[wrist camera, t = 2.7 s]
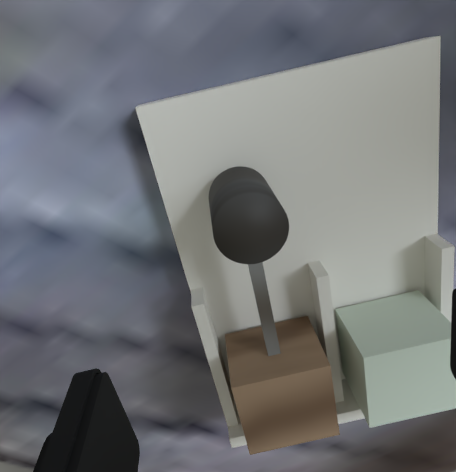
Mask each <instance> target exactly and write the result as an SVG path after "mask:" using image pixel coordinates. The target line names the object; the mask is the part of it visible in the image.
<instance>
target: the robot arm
mask: <svg viewBox="0 0 456 472" xmlns="http://www.w3.org/2000/svg"><path fill="white" fill-rule="evenodd" d="M450 368H451V372H452V374H453V376H454V378H455V379H456V289H454V290H453V292H452V315H451V350H450ZM139 454H140V451H139V443H138V440H137V438H136V435H135V433H134V431H133V429H132V426H131V424H130V422H129V420H128V417H127V415H126V413H125V411H124V408H123V406H122V404H121V402H120V400H119V397H118V395H117V393H116V391H115V388H114V386H113V384H112V382H111V379H110V377H109V375H108V374H107V373H106V372H104V373H101V371H100V370H99V369H92V370H88V371H83V372H79V373H76V374H75V375H74V376H73V378H72V381H71V384H70V386H69V389H68V392H67V395H66V397H65V400H64V403H63V406H62V408H61V411H60V414H59V417H58V419H57V422H56V425H55V428H54V430H53V433H51V434H50V435H49V436H48V437H47V438H46V440H45V442H44V444H43V447H42V450H41V452H40V455H39V458H38V460H37V463H36V466H35V468H34V471H33V472H138V463H139Z"/></svg>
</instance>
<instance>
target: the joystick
mask: <svg viewBox="0 0 456 472" xmlns="http://www.w3.org/2000/svg"><path fill="white" fill-rule="evenodd" d="M209 207H210V215H211V223H212V231H213V237H214V241H215V244H216V246H217V248H218V249H219V251H220V252H221V253H222V254H223V255H224V256H225V257H227V258H228V259H230V260H232V261H234V262H237V263H241V264H248V267H249V272H250V276H251V281H252V285H253V290H254V294H255V299H256V304H257V308H258V313H259V317H260V322H261V326H260V327H255V328H251V329H247V330H242V331H238V332H234V333H229V334H225V341H226V350H227V358H228V366H229V374H230V382H231V389H232V393H233V396H234V400H235V403H236V407H237V410H238V414H239V417H240V421H241V425H242V428H243V432H244V435H245V439H246V442H247V446H248V449H249V453H250V455H251V454H256V453H260V452H265V451H269V450H273V449H278V448H282V447H287V446H291V445H296V444H300V443H304V442H309V441H313V440H318V439H322V438H327V437H331V436H335V435H340V433H339V426H338V418H337V411H336V403H335V396H334V388H333V381H332V373H331V366H330V364H329V361H328V359H327V357H326V355H325V353H324V350H323V348H322V346H321V344H320V342H319V339H318V337H317V335H316V333H315V331H314V329H313V326H312V324H311V322H310V320H309V318H308V316H304V317H299V318H295V319H290V320H286V321H282V322H277V323H274V318H273V313H272V308H271V303H270V298H269V293H268V288H267V283H266V278H265V273H264V268H263V263H262V262H264V261H266V260H268V259H270V258H272V257H273V256H274V255H276V254H277V253H278V252H279V251H280V250H281V248H282V247H283V246H284V244H285V242H286V240H287V237H288V233H289V220H288V217H287V214H286V212H285V210H284V208H283V207H282V205H281V204H280V202H279V201H278V199H277V197H276V196H275V194H274V193H273V191H272V189H271V188H270V186H269V185H268V183H267V181H266V180H265V178H264V177H263V176H262V175H261V174H260V173H259V172H257V171H256V170H254V169H252V168H248V167H242V166H239V167H232V168H229V169H227V170H225V171H223V172H221V173H220V174H219V175H218V176H217V177H216V178H215V179H214V181H213V182H212V184H211V187H210V190H209Z"/></svg>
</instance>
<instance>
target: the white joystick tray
mask: <svg viewBox="0 0 456 472" xmlns="http://www.w3.org/2000/svg"><path fill="white" fill-rule="evenodd" d="M440 46H441V36H435V37H425V38H421V39H417V40H413V41H408V42H404V43H400V44H396V45H391V46H387V47H383V48H379V49H374V50H370V51H366V52H361V53H357V54H353V55H349V56H344V57H340V58H336V59H332V60H327V61H323V62H319V63H315V64H310V65H306V66H302V67H297V68H293V69H289V70H285V71H280V72H276V73H272V74H268V75H263V76H259V77H255V78H251V79H246V80H242V81H238V82H234V83H229V84H225V85H221V86H216V87H212V88H208V89H204V90H199V91H195V92H191V93H187V94H182V95H178V96H174V97H170V98H165V99H161V100H157V101H153V102H148V103H144V104H140V105H138V106H136V107H135V109H136V112H137V115H138V119H139V122H140V125H141V129H142V132H143V135H144V139H145V142H146V145H147V149H148V152H149V155H150V159H151V162H152V165H153V169H154V172H155V175H156V179H157V182H158V185H159V189H160V192H161V195H162V199H163V202H164V205H165V209H166V212H167V215H168V219H169V222H170V225H171V229H172V232H173V235H174V239H175V242H176V245H177V249H178V252H179V255H180V259H181V262H182V265H183V269H184V272H185V275H186V279H187V282H188V285H189V289H190V292H191V307H192V310H193V314H194V317H195V320H196V323H197V327H198V330H199V333H200V337H201V340H202V343H203V346H204V350H205V353H206V356H207V360H208V363H209V366H210V369H211V373H212V376H213V379H214V383H215V386H216V389H217V392H218V396H219V399H220V402H221V406H222V409H223V412H224V415H225V419H226V422H227V425H228V431H229V440H230V443H231V446H232V448H235V447H240V446H244V445H247V442H246V439H245V435H244V432H243V428H242V425H241V421H240V417H239V414H238V410H237V407H236V403H235V400H234V396H233V393H232V389H231V382H230V374H229V366H228V358H227V350H226V341H225V334H229V333H234V332H238V331H242V330H247V329H251V328H255V327H260V326H261V322H260V317H259V313H258V308H257V304H256V299H255V294H254V290H253V285H252V281H251V276H250V272H249V267H248V264H241V263H237V262H234V261H232V260H230V259H228V258H227V257H225V256H224V255H223V254H222V253H221V252H220V251H219V249H218V248H217V246H216V244H215V241H214V237H213V231H212V223H211V215H210V207H209V190H210V187H211V184H212V182H213V181H214V179H215V178H216V177H217V176H218V175H219V174H220V173H221V172H223V171H225V170H227V169H229V168H232V167H239V166H242V167H248V168H252V169H254V170H256V171H257V172H259V173H260V174H261V175H262V176H263V177H264V178H265V180H266V181H267V183H268V185H269V186H270V188H271V189H272V191H273V193H274V194H275V196H276V197H277V199H278V201H279V202H280V204H281V205H282V207H283V208H284V210H285V212H286V214H287V217H288V220H289V233H288V237H287V240H286V242H285V244H284V246H283V247H282V248H281V250H280V251H279V252H278V253H277V254H276V255H274V256H273V257H272V258H270V259H268V260H266V261H264V262H262V263H263V268H264V273H265V278H266V283H267V288H268V293H269V298H270V303H271V308H272V313H273V318H274V323H277V322H282V321H286V320H290V319H295V318H299V317H304V316H308V318H309V320H310V322H311V324H312V326H313V329H314V331H315V333H316V335H317V337H318V339H319V342H320V344H321V346H322V348H323V350H324V353H325V355H326V357H327V359H328V361H329V364H330V366H331V373H332V381H333V388H334V396H335V403H336V411H337V418H338V424H341V423H346V422H350V421H355V420H359V419H363V418H365V419H366V421H367V423H368V425H369V427H370V428H371V427H375V426H380V425H384V424H389V423H393V422H398V421H402V420H406V419H411V418H415V417H420V416H424V415H429V414H433V413H437V412H442V411H446V410H451V409H455V408H456V379H455V378H454V376H453V374H452V372H451V368H450V350H451V315H452V292H453V278H454V250H455V246H453V245H452V244H451V243H449V242H448V241H446V240H445V239H443V238H442V237H441V236H439V235H438V183H439V114H440Z"/></svg>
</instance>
